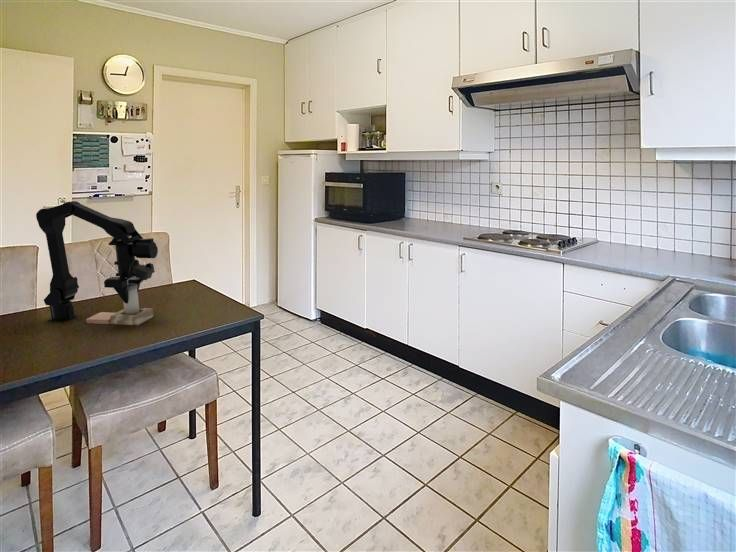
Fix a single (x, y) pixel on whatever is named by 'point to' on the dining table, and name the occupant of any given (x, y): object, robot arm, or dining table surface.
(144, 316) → the beige square frame
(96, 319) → the tile
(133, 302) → the plug
